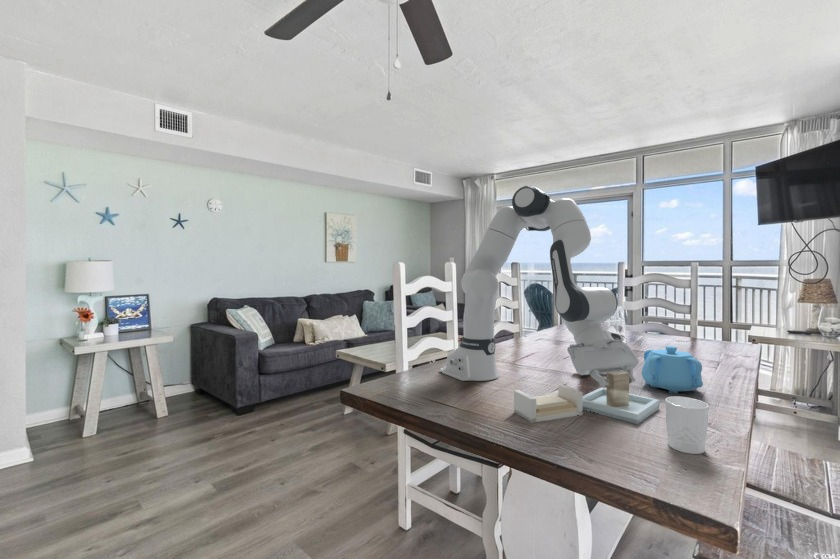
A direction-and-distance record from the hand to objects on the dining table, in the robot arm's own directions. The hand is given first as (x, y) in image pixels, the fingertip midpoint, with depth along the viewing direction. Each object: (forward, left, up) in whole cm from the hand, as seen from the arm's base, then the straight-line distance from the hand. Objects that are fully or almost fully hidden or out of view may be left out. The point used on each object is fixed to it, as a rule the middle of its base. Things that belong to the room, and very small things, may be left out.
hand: (619, 384), depth 111 cm
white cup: (+19, -14, -7) cm, 25 cm away
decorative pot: (+3, +32, -7) cm, 33 cm away
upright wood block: (0, 0, -6) cm, 6 cm away
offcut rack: (-12, -17, -7) cm, 22 cm away
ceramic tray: (-1, 0, -7) cm, 7 cm away
